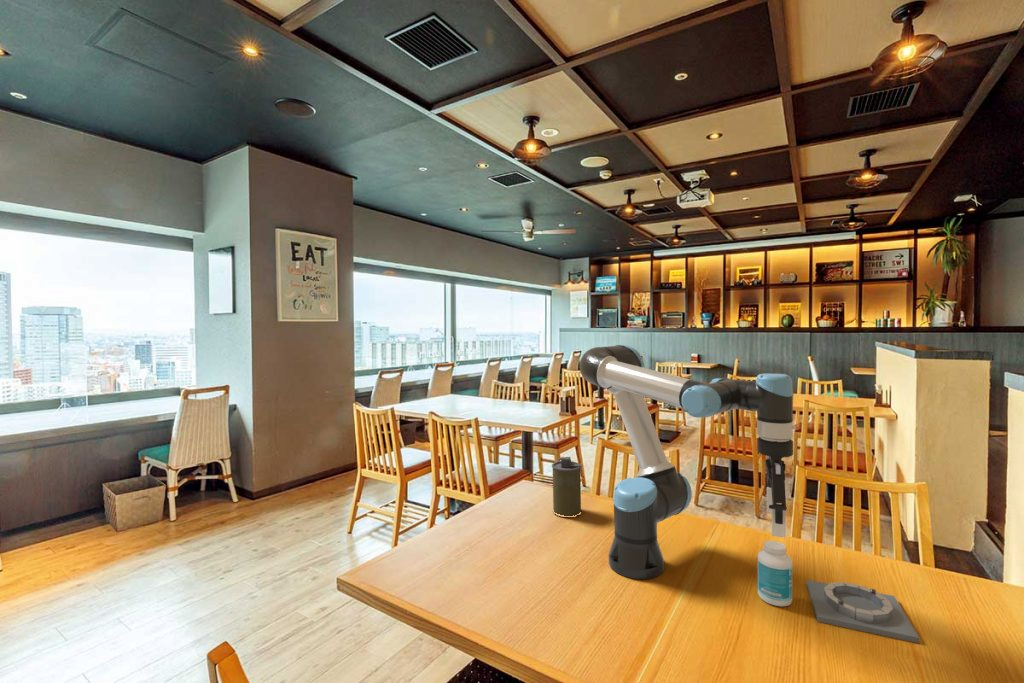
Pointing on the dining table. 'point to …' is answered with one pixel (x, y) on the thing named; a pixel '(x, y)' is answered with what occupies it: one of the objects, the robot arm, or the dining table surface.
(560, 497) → the canister
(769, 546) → the pill bottle
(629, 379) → the robot arm
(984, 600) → the dining table surface
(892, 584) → the dining table surface
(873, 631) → the board
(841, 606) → the collar
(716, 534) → the dining table surface
